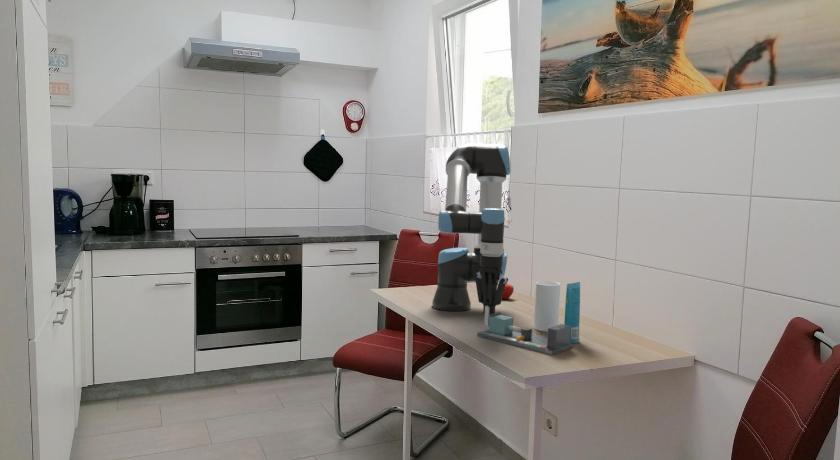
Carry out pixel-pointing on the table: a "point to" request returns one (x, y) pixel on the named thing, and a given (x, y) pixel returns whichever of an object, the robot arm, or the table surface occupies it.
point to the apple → (507, 291)
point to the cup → (546, 305)
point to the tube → (573, 310)
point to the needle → (525, 334)
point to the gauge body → (502, 324)
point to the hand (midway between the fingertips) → (488, 324)
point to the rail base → (536, 340)
